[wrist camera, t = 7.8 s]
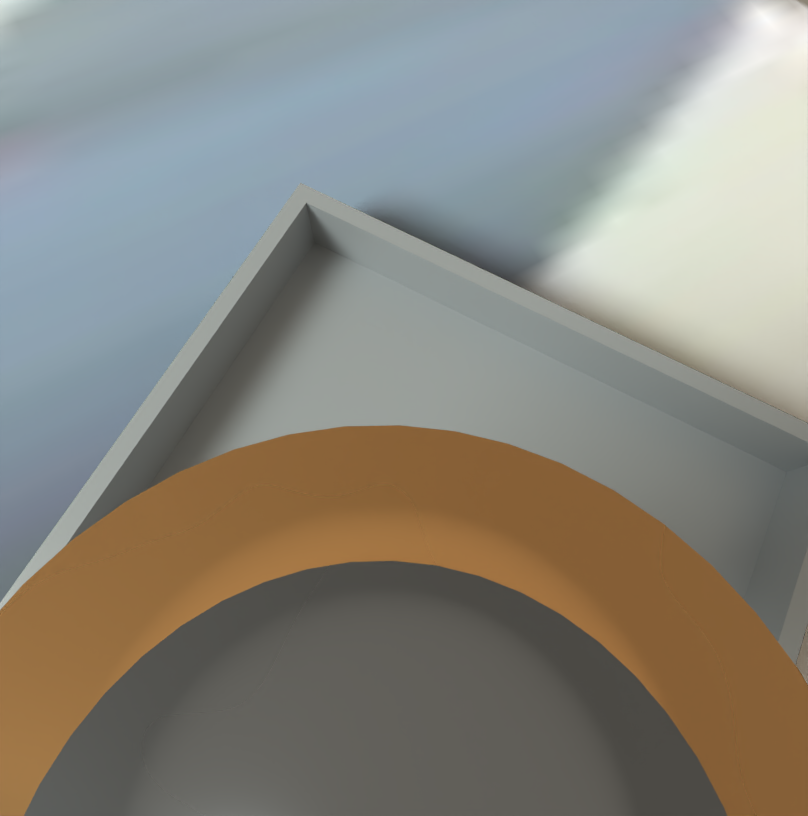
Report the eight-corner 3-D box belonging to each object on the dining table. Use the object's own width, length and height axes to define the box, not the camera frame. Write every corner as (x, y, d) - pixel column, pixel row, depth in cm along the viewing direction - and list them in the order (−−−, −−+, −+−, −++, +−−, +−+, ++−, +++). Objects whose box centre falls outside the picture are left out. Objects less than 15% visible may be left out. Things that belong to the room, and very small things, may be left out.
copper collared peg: (498, 737, 14) (1253, 1653, 2) (313, 786, 14) (-357, 2400, 1) (452, 551, 15) (703, 334, 3) (282, 590, 15) (-204, 523, 3)
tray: (513, 1328, 14) (543, 1506, 12) (-126, 870, 17) (-229, 923, 14) (797, 468, 21) (860, 447, 18) (311, 233, 24) (300, 183, 21)
